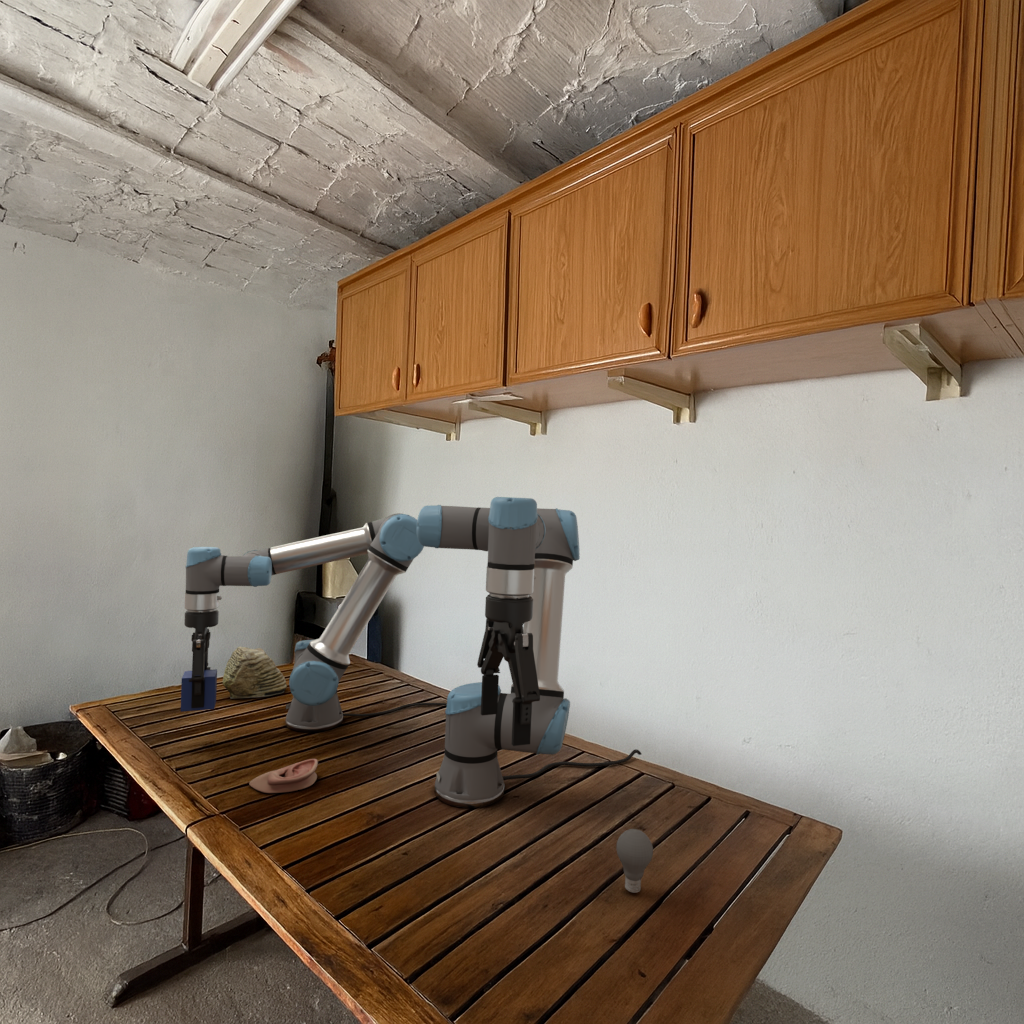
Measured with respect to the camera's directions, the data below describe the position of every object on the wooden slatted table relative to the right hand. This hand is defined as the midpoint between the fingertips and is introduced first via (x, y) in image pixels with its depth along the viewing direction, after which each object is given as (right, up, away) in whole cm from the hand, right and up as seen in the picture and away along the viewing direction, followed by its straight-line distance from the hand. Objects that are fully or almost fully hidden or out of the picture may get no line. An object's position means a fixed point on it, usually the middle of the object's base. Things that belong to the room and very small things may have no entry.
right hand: (503, 728), depth 100 cm
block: (-76, -14, +56) cm, 96 cm away
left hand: (-76, -13, +56) cm, 95 cm away
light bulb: (+21, -29, +5) cm, 37 cm away
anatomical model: (-49, -25, +39) cm, 68 cm away
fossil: (-79, -23, +98) cm, 128 cm away
